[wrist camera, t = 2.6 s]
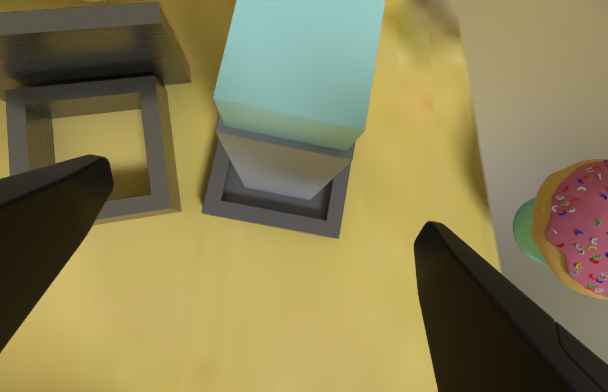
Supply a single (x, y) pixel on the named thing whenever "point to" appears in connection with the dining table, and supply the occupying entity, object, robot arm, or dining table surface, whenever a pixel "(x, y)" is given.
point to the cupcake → (570, 226)
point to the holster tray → (274, 201)
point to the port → (92, 86)
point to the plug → (296, 90)
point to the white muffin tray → (95, 0)
